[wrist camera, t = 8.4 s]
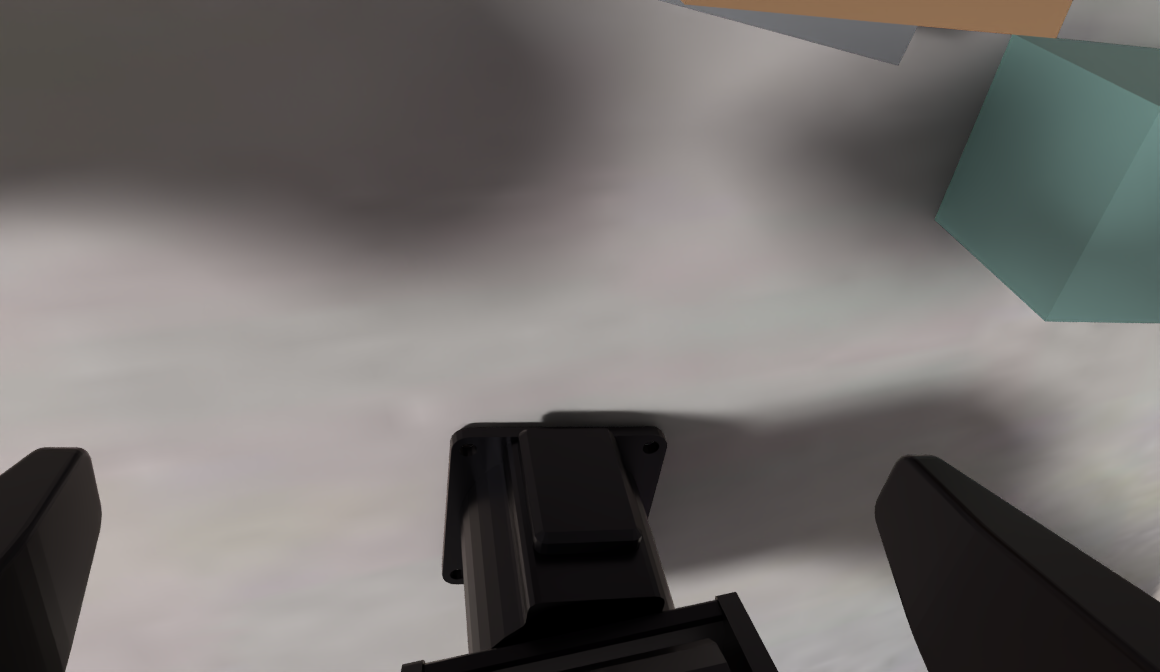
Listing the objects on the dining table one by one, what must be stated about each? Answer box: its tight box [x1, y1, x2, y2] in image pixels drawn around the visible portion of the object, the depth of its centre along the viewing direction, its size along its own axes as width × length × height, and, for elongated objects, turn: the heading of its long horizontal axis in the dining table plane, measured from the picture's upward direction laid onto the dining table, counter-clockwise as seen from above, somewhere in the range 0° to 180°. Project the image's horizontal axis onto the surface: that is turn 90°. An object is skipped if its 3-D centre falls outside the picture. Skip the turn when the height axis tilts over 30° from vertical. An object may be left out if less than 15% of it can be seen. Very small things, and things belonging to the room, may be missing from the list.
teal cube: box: [935, 34, 1160, 323], centre depth 20 cm, size 5×5×5 cm
